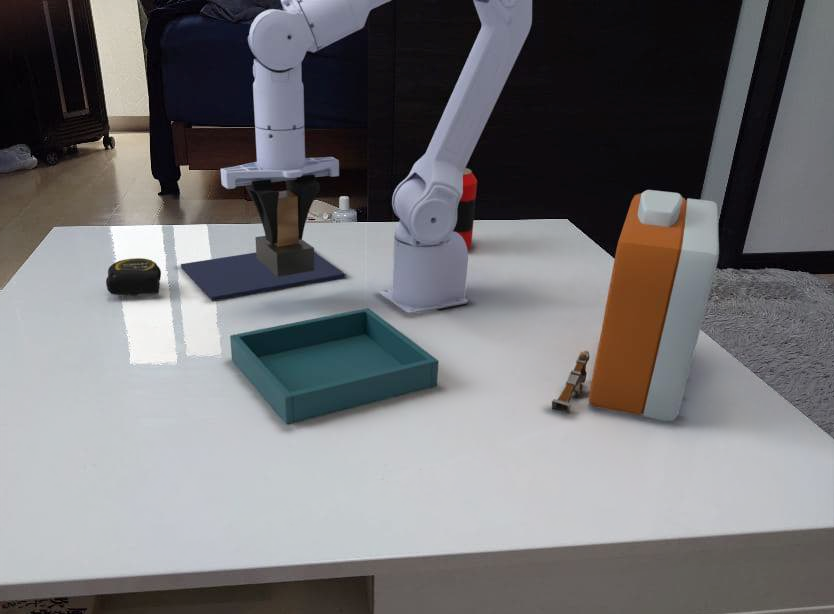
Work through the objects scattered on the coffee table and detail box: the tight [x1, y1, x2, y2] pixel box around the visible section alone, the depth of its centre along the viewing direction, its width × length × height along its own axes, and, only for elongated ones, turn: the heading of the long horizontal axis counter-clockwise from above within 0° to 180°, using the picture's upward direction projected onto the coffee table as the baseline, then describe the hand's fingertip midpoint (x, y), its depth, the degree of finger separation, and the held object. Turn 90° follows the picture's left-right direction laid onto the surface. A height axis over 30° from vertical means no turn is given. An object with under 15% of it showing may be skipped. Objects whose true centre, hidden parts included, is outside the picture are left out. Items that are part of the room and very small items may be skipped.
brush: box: [254, 190, 315, 277], centre depth 96 cm, size 5×7×9 cm
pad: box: [180, 251, 346, 302], centre depth 112 cm, size 20×14×1 cm
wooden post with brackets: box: [551, 350, 590, 413], centre depth 81 cm, size 2×8×4 cm, turn 149°
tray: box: [229, 307, 440, 425], centre depth 85 cm, size 18×16×4 cm
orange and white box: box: [588, 189, 720, 422], centre depth 81 cm, size 18×9×21 cm, turn 159°
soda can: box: [453, 167, 478, 251], centre depth 121 cm, size 8×8×12 cm
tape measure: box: [105, 257, 162, 297], centre depth 105 cm, size 7×7×4 cm
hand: (283, 239), depth 97 cm, fingers closed on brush, 3 cm apart
